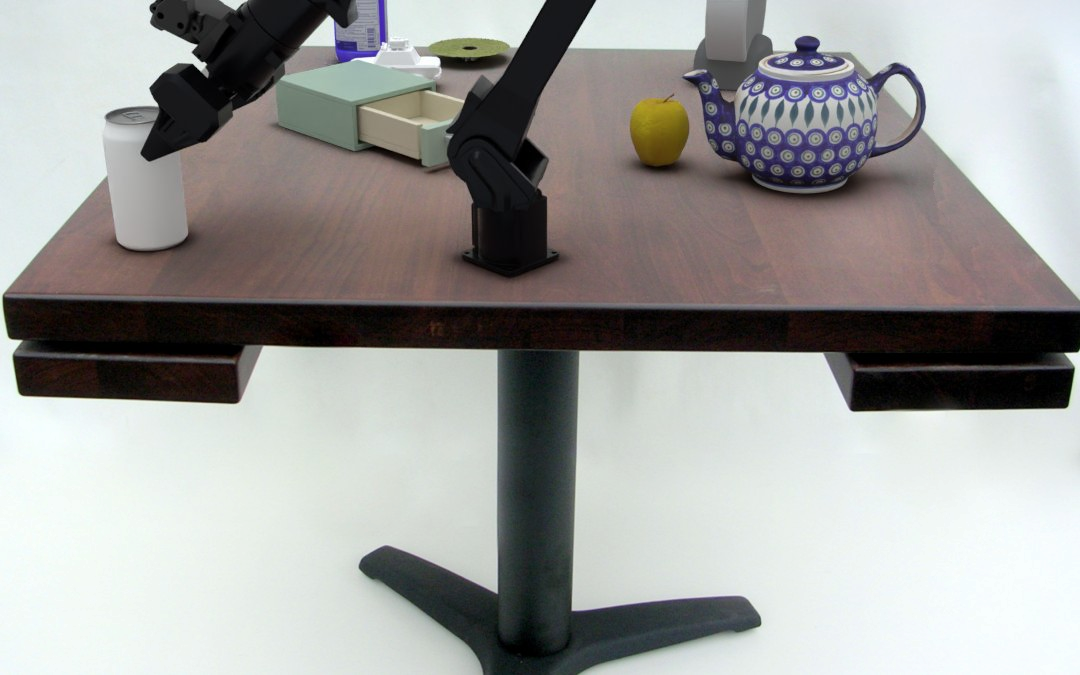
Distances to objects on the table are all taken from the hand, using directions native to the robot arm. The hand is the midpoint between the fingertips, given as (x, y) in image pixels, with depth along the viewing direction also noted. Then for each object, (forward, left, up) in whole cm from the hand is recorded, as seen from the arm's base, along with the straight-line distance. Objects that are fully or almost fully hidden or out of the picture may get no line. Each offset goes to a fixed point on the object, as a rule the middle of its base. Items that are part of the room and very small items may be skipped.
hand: (165, 141), depth 123 cm
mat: (+31, -65, -10) cm, 73 cm away
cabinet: (+17, -35, -9) cm, 40 cm away
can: (+2, +1, -10) cm, 10 cm away
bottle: (+41, -55, -10) cm, 69 cm away
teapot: (-30, -55, -10) cm, 64 cm away
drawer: (+2, -35, -9) cm, 36 cm away
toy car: (+27, -49, -10) cm, 56 cm away
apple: (-17, -49, -10) cm, 52 cm away
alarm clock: (0, -84, -10) cm, 84 cm away
